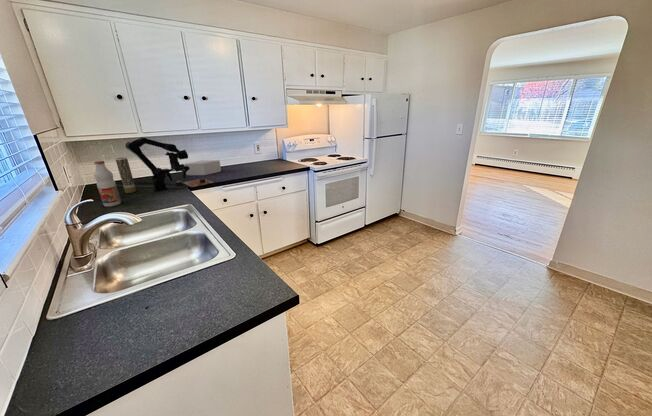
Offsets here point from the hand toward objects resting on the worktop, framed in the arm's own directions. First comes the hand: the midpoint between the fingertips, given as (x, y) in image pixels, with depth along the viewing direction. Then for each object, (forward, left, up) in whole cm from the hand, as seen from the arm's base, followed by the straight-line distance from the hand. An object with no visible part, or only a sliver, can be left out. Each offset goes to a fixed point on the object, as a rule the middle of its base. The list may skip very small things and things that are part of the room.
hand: (178, 180), depth 212 cm
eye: (+15, -9, -3) cm, 18 cm away
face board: (+13, -5, -4) cm, 15 cm away
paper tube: (-31, +8, -4) cm, 32 cm away
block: (+31, +24, -4) cm, 40 cm away
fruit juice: (-46, -14, -4) cm, 48 cm away
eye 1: (0, 0, -4) cm, 4 cm away
